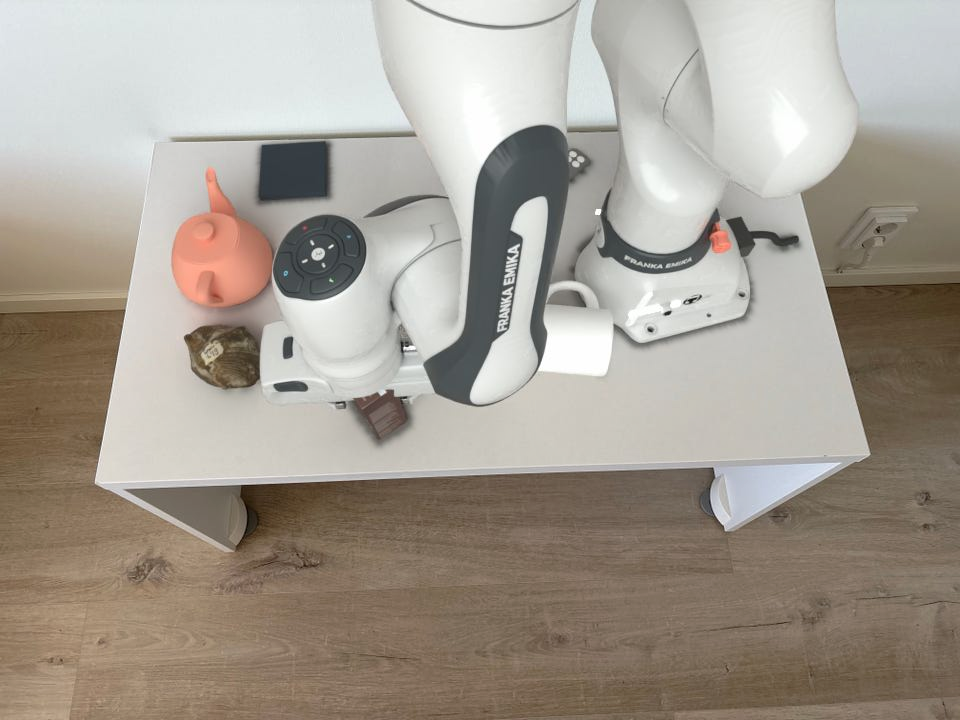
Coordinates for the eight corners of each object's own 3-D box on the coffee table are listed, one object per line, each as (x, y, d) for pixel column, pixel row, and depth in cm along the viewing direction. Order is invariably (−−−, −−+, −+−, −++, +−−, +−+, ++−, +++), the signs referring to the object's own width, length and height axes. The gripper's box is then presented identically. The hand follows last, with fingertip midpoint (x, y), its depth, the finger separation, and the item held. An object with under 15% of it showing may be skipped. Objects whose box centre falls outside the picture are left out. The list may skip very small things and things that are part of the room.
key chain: (569, 150, 95) (571, 143, 94) (590, 164, 94) (592, 157, 93) (512, 204, 91) (513, 197, 89) (533, 219, 90) (534, 212, 89)
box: (350, 404, 79) (330, 364, 68) (382, 384, 80) (368, 341, 69) (376, 444, 77) (361, 409, 66) (409, 423, 78) (399, 385, 67)
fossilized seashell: (172, 335, 80) (200, 410, 78) (184, 309, 75) (214, 387, 73) (233, 325, 85) (261, 395, 83) (248, 299, 80) (278, 373, 78)
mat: (326, 145, 95) (325, 140, 94) (326, 196, 91) (324, 191, 91) (263, 149, 95) (261, 144, 94) (260, 200, 91) (258, 195, 90)
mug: (600, 386, 80) (613, 360, 73) (518, 379, 80) (523, 352, 73) (602, 300, 85) (614, 267, 78) (525, 294, 85) (530, 260, 78)
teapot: (174, 331, 83) (140, 292, 74) (190, 213, 90) (160, 166, 81) (272, 325, 83) (249, 286, 74) (280, 208, 90) (259, 161, 82)
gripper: (462, 310, 63) (463, 367, 76) (246, 325, 62) (284, 381, 75) (467, 370, 61) (468, 419, 73) (242, 387, 60) (282, 434, 73)
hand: (373, 400), depth 74 cm, fingers open, 6 cm apart
